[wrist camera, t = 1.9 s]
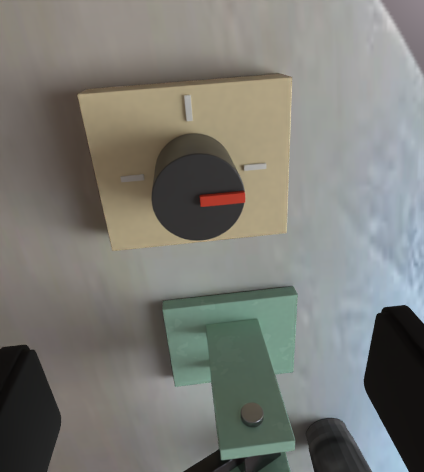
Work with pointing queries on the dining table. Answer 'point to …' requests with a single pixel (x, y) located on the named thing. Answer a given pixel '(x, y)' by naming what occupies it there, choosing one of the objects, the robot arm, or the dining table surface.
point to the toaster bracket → (238, 365)
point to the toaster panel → (185, 122)
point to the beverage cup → (334, 448)
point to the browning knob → (196, 188)
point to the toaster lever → (233, 463)
